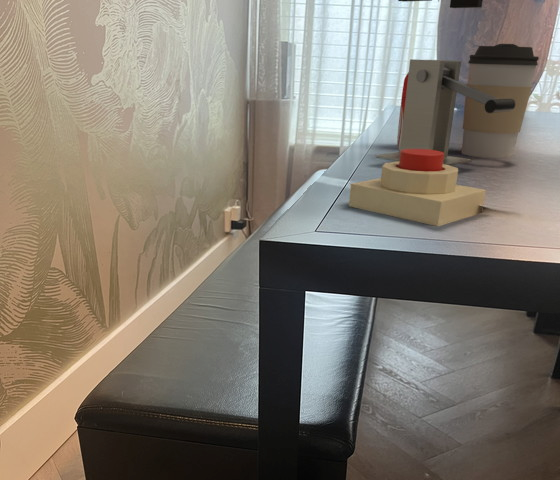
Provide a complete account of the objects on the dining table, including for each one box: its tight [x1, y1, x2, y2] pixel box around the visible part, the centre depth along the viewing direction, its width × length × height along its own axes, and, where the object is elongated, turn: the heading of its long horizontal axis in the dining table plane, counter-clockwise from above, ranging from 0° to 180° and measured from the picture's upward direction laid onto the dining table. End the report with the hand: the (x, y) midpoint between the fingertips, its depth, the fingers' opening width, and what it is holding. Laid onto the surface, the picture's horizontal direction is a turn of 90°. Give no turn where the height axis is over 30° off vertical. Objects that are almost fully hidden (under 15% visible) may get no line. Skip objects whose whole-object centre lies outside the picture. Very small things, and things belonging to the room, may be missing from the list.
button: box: [399, 149, 444, 171], centre depth 57 cm, size 4×4×2 cm
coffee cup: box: [461, 43, 540, 159], centre depth 84 cm, size 9×9×15 cm
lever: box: [441, 67, 515, 113], centre depth 75 cm, size 12×5×2 cm, turn 45°
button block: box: [348, 161, 487, 227], centre depth 58 cm, size 10×8×4 cm
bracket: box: [374, 58, 472, 166], centre depth 79 cm, size 10×8×13 cm
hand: (441, 3), depth 51 cm, fingers open, 7 cm apart
